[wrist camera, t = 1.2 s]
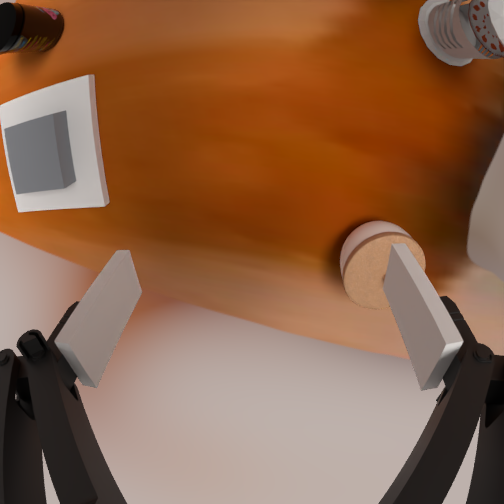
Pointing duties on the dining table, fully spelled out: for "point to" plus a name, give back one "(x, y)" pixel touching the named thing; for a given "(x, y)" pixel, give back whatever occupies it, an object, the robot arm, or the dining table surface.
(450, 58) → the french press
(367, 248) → the lidded jar
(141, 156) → the dining table surface
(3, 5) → the supplement container
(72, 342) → the robot arm
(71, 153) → the build base
